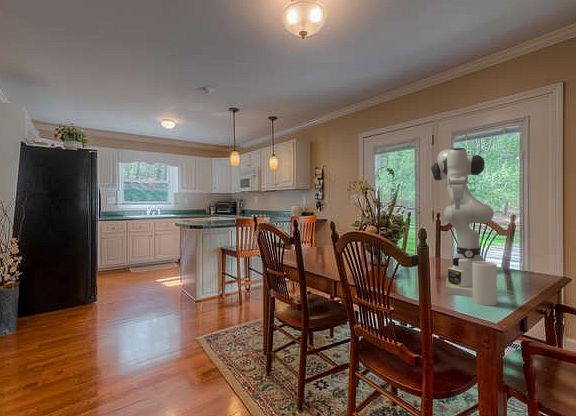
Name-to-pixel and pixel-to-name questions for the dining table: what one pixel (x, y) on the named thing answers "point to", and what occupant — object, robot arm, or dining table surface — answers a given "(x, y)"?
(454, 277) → the medicine bottle
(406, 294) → the dining table surface
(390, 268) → the candy bar box
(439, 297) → the dining table surface
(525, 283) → the dining table surface
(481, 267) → the cup
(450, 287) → the dock
